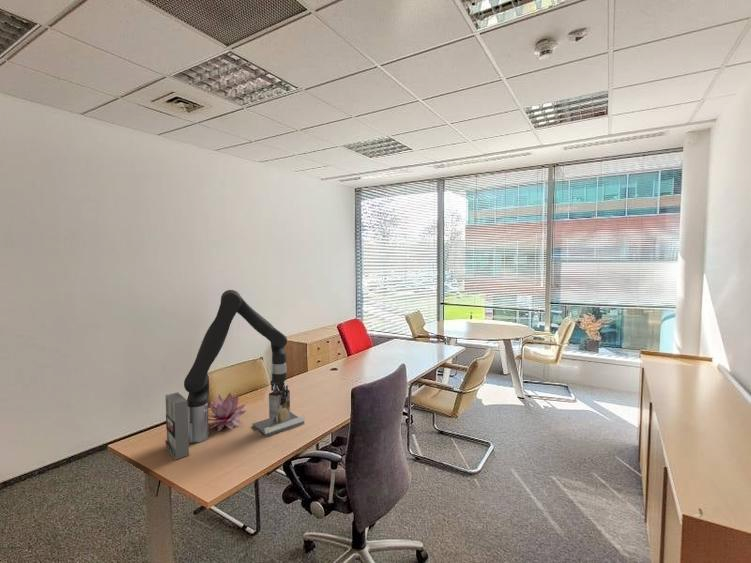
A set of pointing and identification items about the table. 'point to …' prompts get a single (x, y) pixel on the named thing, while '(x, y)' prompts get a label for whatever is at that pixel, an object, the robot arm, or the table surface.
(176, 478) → the table surface
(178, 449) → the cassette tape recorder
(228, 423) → the decorative flower
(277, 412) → the coffee box
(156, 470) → the table surface
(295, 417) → the shelf
